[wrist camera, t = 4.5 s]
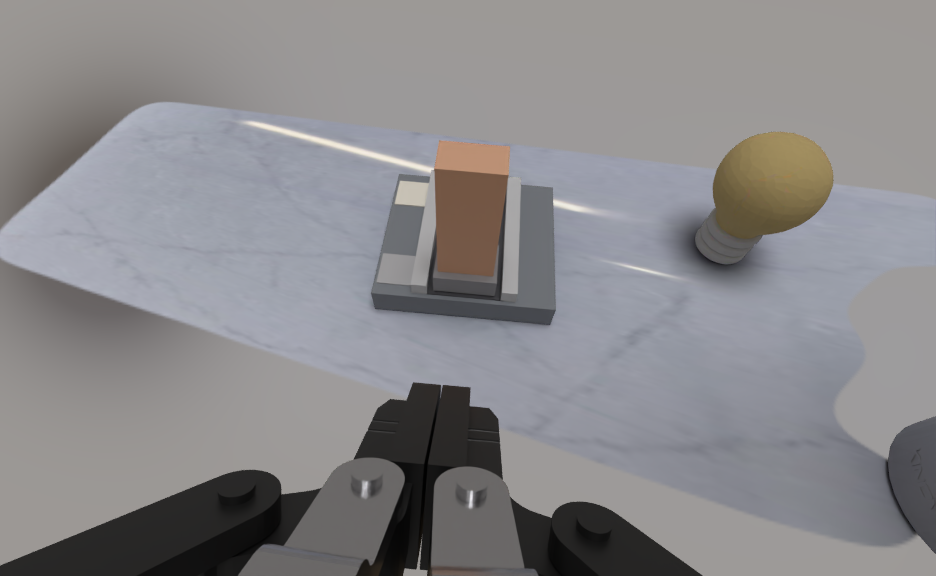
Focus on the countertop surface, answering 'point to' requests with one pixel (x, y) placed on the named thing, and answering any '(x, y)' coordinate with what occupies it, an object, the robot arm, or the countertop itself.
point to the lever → (469, 215)
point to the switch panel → (519, 260)
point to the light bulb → (763, 193)
